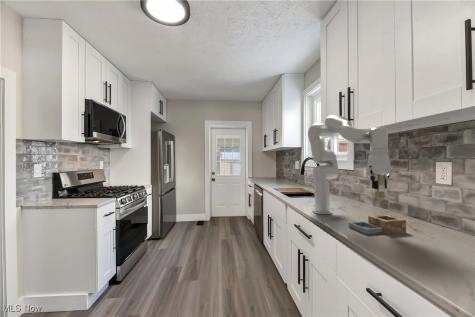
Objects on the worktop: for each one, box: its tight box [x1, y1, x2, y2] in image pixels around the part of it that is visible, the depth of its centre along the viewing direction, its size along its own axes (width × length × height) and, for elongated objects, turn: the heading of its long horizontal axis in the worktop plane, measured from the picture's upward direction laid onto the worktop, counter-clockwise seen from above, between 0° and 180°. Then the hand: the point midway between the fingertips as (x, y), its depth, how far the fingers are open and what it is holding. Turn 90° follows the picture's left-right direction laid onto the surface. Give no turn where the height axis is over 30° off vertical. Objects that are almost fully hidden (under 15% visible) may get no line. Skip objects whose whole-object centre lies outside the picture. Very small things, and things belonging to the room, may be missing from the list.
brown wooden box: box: [367, 214, 407, 235], centre depth 110 cm, size 11×11×6 cm
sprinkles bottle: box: [374, 172, 386, 199], centre depth 110 cm, size 5×5×14 cm
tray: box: [348, 221, 384, 236], centre depth 110 cm, size 12×9×2 cm
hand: (379, 188), depth 110 cm, fingers closed on sprinkles bottle, 4 cm apart
